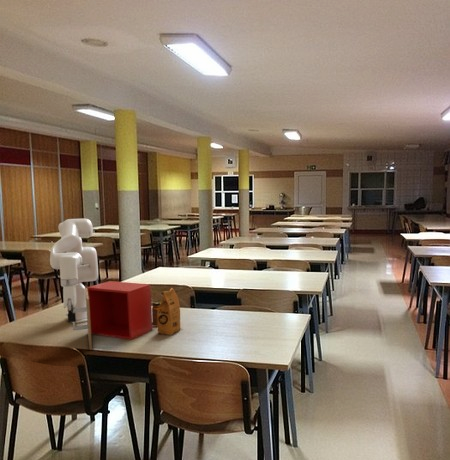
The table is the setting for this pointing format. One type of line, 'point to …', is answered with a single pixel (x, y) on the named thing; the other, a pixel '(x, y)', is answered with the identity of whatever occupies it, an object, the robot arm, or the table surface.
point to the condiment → (155, 313)
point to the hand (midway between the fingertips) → (72, 320)
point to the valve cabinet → (120, 309)
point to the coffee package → (169, 313)
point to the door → (87, 319)
